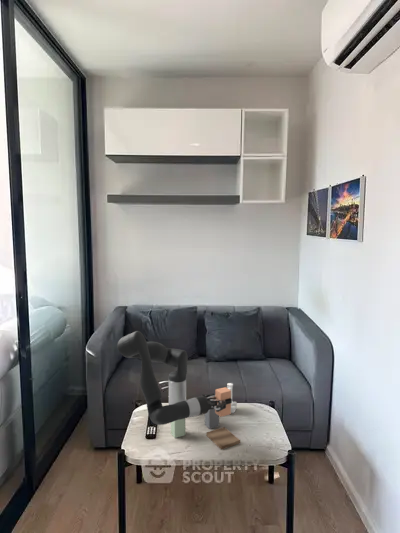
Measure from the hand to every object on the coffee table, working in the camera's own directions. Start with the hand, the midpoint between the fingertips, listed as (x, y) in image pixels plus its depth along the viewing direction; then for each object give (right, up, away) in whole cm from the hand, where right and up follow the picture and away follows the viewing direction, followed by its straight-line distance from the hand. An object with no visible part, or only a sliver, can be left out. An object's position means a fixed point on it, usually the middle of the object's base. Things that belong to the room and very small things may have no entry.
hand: (228, 398), depth 171 cm
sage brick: (-23, -19, +5) cm, 30 cm away
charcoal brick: (-7, -18, +13) cm, 23 cm away
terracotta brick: (-2, -7, -1) cm, 7 cm away
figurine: (+3, -17, +28) cm, 32 cm away
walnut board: (-2, -19, +1) cm, 19 cm away
